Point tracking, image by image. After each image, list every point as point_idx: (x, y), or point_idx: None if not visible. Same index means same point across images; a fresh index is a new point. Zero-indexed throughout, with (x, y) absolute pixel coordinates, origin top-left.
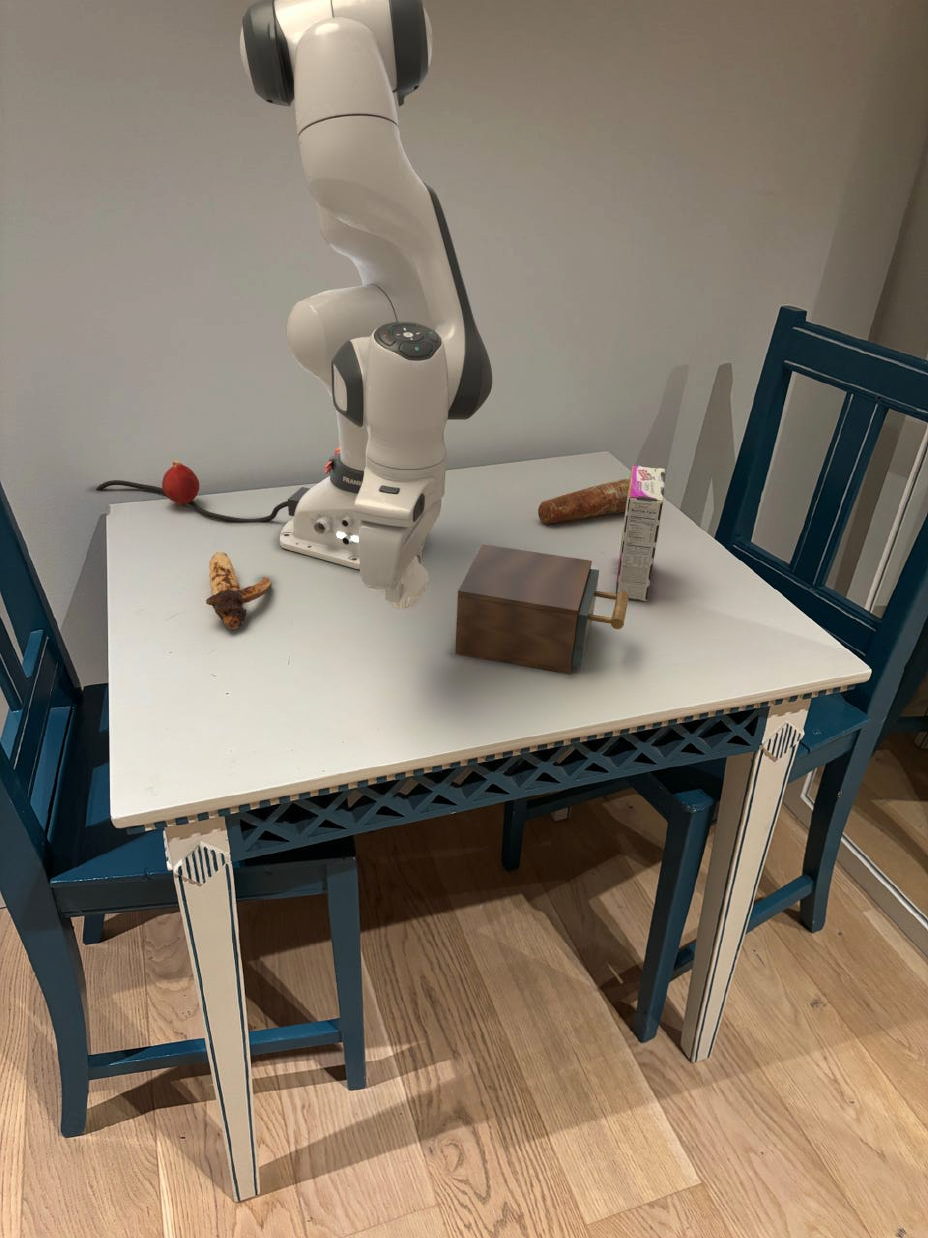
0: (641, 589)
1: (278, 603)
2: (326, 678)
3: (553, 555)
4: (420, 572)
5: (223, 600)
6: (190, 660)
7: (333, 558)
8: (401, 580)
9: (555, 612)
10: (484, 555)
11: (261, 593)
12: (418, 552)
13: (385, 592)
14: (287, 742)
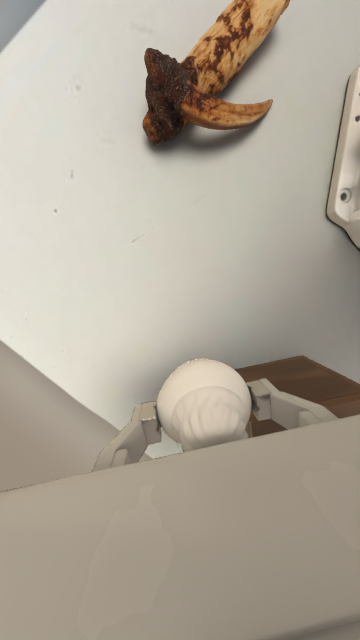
0: None
1: (228, 158)
2: (131, 290)
3: None
4: None
5: (156, 80)
6: (78, 126)
7: (338, 169)
8: (172, 431)
9: None
10: (350, 411)
11: (215, 126)
12: (277, 418)
13: (132, 415)
14: (32, 309)
